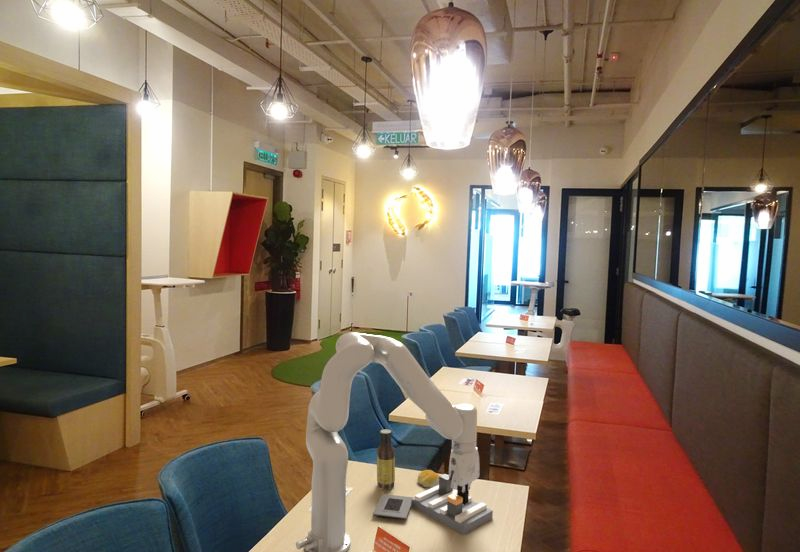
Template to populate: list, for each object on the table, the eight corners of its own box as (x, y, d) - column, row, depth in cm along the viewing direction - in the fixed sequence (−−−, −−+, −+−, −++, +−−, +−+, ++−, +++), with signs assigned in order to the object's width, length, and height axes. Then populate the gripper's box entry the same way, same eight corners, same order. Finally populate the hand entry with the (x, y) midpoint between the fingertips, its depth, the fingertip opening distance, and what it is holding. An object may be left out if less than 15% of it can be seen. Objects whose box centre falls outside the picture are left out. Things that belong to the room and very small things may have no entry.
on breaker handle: (446, 496, 173) (447, 479, 172) (438, 492, 175) (439, 476, 175) (452, 493, 175) (453, 477, 174) (444, 489, 177) (445, 473, 177)
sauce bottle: (385, 480, 190) (386, 426, 188) (398, 485, 185) (399, 430, 184) (372, 486, 185) (373, 430, 183) (386, 492, 181) (387, 435, 179)
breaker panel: (463, 534, 155) (464, 522, 155) (411, 506, 171) (411, 494, 171) (492, 518, 165) (492, 506, 165) (440, 492, 181) (440, 481, 181)
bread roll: (430, 475, 195) (431, 464, 194) (445, 485, 187) (446, 474, 187) (412, 480, 190) (412, 469, 190) (426, 490, 183) (427, 479, 182)
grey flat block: (405, 524, 161) (406, 516, 161) (372, 520, 163) (372, 512, 163) (413, 503, 174) (413, 496, 174) (382, 499, 176) (382, 493, 176)
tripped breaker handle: (455, 518, 159) (456, 500, 159) (447, 513, 162) (447, 496, 161) (462, 514, 161) (462, 497, 161) (453, 510, 164) (454, 493, 163)
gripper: (457, 455, 155) (456, 515, 156) (488, 442, 165) (487, 498, 166) (438, 447, 160) (437, 506, 161) (469, 435, 170) (468, 490, 172)
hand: (462, 502), depth 164 cm, fingers closed
